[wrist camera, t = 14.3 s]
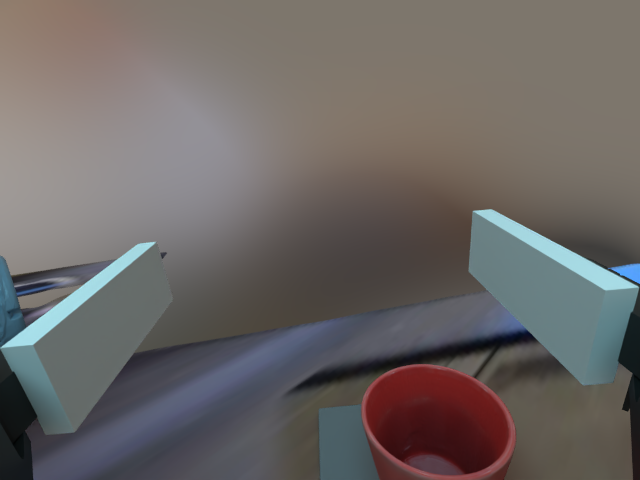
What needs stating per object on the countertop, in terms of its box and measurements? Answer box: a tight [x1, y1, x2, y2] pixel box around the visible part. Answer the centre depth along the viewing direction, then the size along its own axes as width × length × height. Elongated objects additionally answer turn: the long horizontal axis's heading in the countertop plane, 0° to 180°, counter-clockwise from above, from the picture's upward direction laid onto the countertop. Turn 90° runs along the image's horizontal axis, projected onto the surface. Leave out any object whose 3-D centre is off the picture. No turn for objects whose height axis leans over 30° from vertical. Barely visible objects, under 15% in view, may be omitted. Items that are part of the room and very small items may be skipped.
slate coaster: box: [319, 405, 380, 480], centre depth 32 cm, size 15×15×1 cm
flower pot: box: [361, 364, 516, 480], centre depth 27 cm, size 11×11×10 cm
